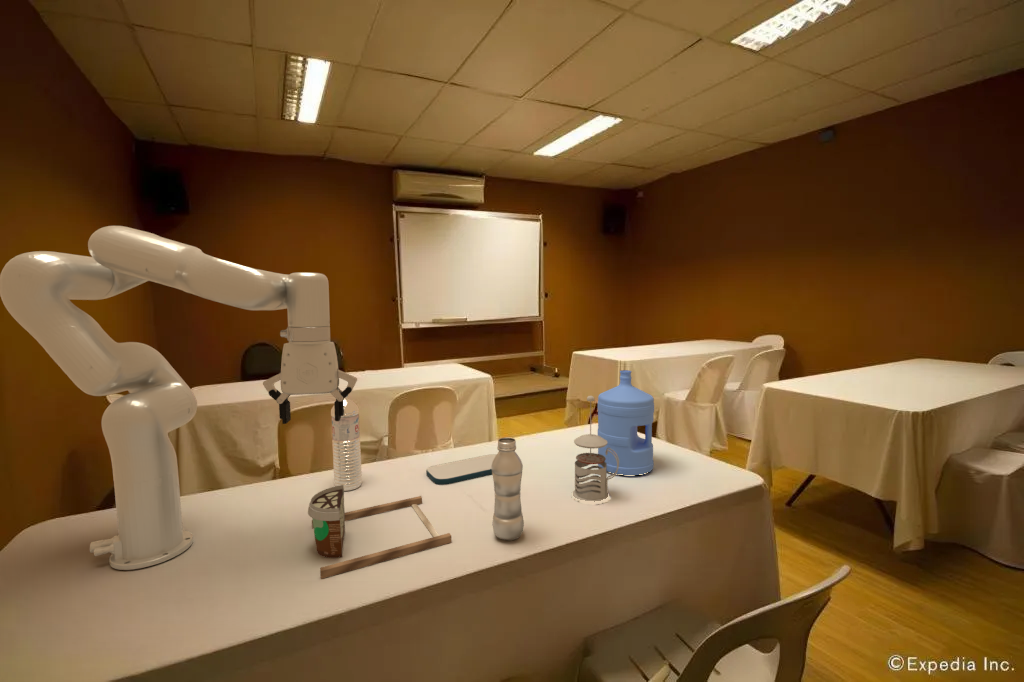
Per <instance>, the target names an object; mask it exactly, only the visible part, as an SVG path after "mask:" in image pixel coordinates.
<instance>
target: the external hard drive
mask: <svg viewBox="0 0 1024 682" xmlns="http://www.w3.org/2000/svg"><path fill="white" fill-rule="evenodd" d="M497 454H498V453H495V454H494V453H493V454H484V455H479V456H476V457H471V458H465V459H460V460H455V461H450V462H444V463H439V464H436V465H432V466H430V467H429V466H428V467H427V468H426V470H425V471H426V472H425V473H426V476H427V478H428V477H429V478H428V479H430V481H431V482H432V483H433V484H435V485H439V486H443V485H444V486H445V485H446V486H447V485H452V484H456V483H460V482H464V481H469V480H473V479H478V478H482V477H486V476H491V475H492V467H491V466H492V462H493V460H494V458H495V456H496V455H497Z"/></svg>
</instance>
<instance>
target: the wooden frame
mask: <svg viewBox="0 0 1024 682" xmlns="http://www.w3.org/2000/svg"><path fill="white" fill-rule="evenodd" d="M422 504H423V497H422V496H421V495H419V496H414V497H411V498H404V499H402V500H401V499H400V500H397V501H391V502H386V503H382V504H379V505H378V504H377V505H374V506H373V505H372V506H369V507H364V508H360V509H355V510H351V511H346V512H344V514H345V522H347V521H352V520H356V519H361V518H365V517H370V516H374V515H378V514H382V513H388V512H390V511H394V510H400V509H405V508H409V507H411V508H412V509H413V510H414V512H415V513H416V515H417V516H418V518H419V519H420V520H421V523H422V524H424V526H425V528H426V529H427V531H428V532H429V533H430V535H431V536H432V537H428V538H426V539H422V540H418V541H414V542H411V543H406V544H403V545H400V546H395V547H392V548H388V549H385V550H382V551H381V550H379V551H378V552H373V553H369V554H366V555H363V556H358V557H354V558H351V559H348V560H344V561H340V562H337V563H332V564H329V565H325V566H321V567H320V568H319V569H320V570H319V574H320V578H321V580H323V579H325V578H330V577H333V576H336V575H340V574H344V573H346V572H351V571H355V570H358V569H362V568H365V567H369V566H372V565H376V564H380V563H383V562H386V561H390V560H394V559H397V558H400V557H404V556H408V555H412V554H414V553H418V552H422V550H423V551H426V550H429V549H432V548H437V547H440V546H443V545H447V544H450V543H452V535H451V533H450V532H448V533H444V534H439V533H438V532H437V529H436V528H435V527H434V526H433V524H432V523H431V522H430V521H429V518H427V516H426V514H425V513H424V512H423V510H421V508H420V507H419V505H422ZM311 527H312V529H314V527H313V520H312V519H311Z"/></svg>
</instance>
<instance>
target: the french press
mask: <svg viewBox="0 0 1024 682" xmlns="http://www.w3.org/2000/svg"><path fill="white" fill-rule="evenodd" d="M595 399H596V398H595V397H594V396H593V395H587V397H586V401H587V402H589V411H590V412H589V414H590V415H589V417H590V418H589V419H590V420H589V421H590V422H589V423H590V424H589V431H590V433H589V434H588V433H587V434H582V435H580V436H578V437H576V438H575V439H574V440H573V443H574V445H575V446H577V447H580V448H583V449H590V450H589V451H590V452H583V453H579V454H577V455H576V456H575V459H576V461H574V490H573V491H572V492H573V496H574V497H575V498H577V499H580V500H585V501H594V502H595V501H601V500H603V499H606V498H607V497H608V493H609V492H608V487H609V486H608V482H609V481H608V480H612V479H613V478H614V477H615V476H617V475H616V473H617V471H618V468H619V459H618V456H617V454H616V453H615V452H614V451H613V450H612V449H610V448H607V450H606V455H607V453H608V451H609V450H608V449H610V450H612V451H613V452H614V453H615V454H616V456H617V458H616V456H615V455H614V454H613V453H612V452H611V451H609V452H611V453H612V454H613V455H614V456H615V458H616V461H617V470H616V472H615V473H614V474H611V475H607V473H608V472H607V464H606V463H605V462H604V461H605V460H606V459H605V457H604V456H603V455H600V454H598V453H595V452H592V449H593V450H594V449H598V448H602V447H605V446H606V445H607V440H605V439H603V438H602V437H600V436H598V434H594V433H593V434H592V402H595ZM617 459H618V460H617ZM598 464H600V465H602V466H603V467H604V468H601V467H599V466H598ZM589 465H591V466H589ZM587 466H589V467H587ZM584 467H587V468H584ZM590 475H591V476H590ZM589 480H590V481H589ZM587 481H588V482H587Z"/></svg>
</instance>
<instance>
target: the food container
mask: <svg viewBox="0 0 1024 682" xmlns="http://www.w3.org/2000/svg"><path fill="white" fill-rule="evenodd" d="M344 513H345V491H344V487H343V485H340V486H335V485H334V486H332V487H328V488H325V489H323V490H321V491H318V492H317V493H316V494H314V495H313V496H312V497H311V499H310V501H309V504H308V508H307V514H308V516H309V517H310V518H311V521H312V520H313V527H314V528H313V532H314V533H313V534H314V540H315V541H314V542H315V547H316V548H315V549H316V554H318V555H319V556H320V557H323V558H328V559H336V558H343V554H344V548H345V547H344V545H345V538H346V537H345V536H346V521H345V514H344Z"/></svg>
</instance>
